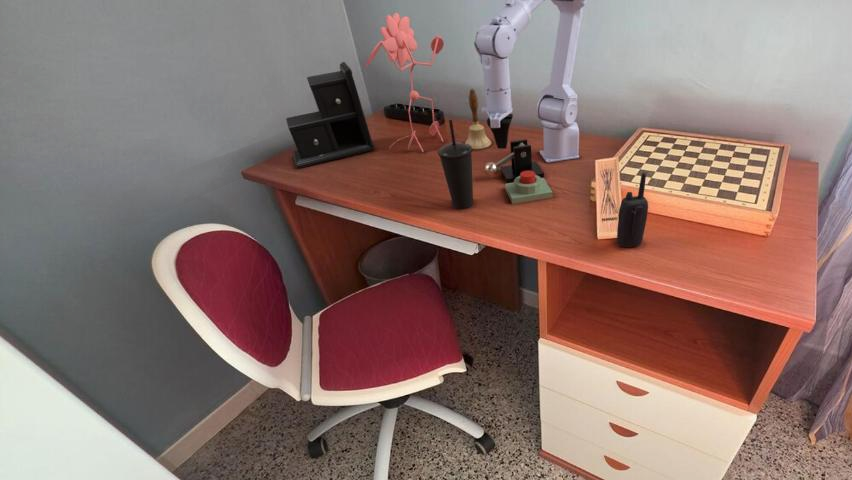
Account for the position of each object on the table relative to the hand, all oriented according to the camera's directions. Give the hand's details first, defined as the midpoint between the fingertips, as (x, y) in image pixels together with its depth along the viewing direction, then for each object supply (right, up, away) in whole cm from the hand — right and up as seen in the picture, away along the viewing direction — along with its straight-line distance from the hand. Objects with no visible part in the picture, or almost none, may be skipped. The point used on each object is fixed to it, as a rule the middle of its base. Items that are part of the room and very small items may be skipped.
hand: (502, 147), depth 103 cm
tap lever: (+1, -2, +8) cm, 8 cm away
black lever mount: (+5, -4, +10) cm, 12 cm away
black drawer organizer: (-53, +8, +29) cm, 61 cm away
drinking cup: (-9, -14, -1) cm, 17 cm away
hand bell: (-8, +10, +28) cm, 31 cm away
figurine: (-27, +12, +32) cm, 44 cm away
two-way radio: (+26, -26, -18) cm, 41 cm away
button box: (+6, -11, +2) cm, 13 cm away
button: (+6, -8, 0) cm, 10 cm away
